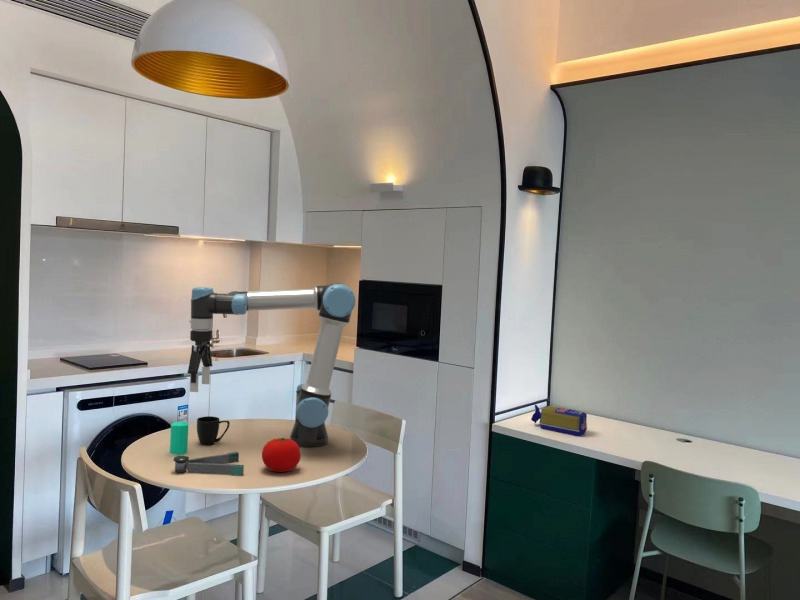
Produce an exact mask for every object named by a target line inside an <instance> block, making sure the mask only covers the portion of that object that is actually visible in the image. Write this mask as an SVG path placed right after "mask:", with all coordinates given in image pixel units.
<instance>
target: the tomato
mask: <svg viewBox="0 0 800 600" xmlns="http://www.w3.org/2000/svg"><path fill="white" fill-rule="evenodd" d="M301 455H302V453H301V448H300V446H298V444H297V443H296V442H295V441H293V440H291V439H290V438H285V437H278V438H272V439H271V440H269V441H267V443H266V444H265V445H264V446H263V447H262V451H261V459H262V463H263V464H264V466H265V467H266V468H267V469H269V470H270V471H273V472H277V473H284V472H288V471H292V470H294V468H295V469H296V467H297V466H298V464H299V463H300V461H301V457H302V456H301Z"/></svg>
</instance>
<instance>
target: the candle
mask: <svg viewBox="0 0 800 600" xmlns="http://www.w3.org/2000/svg"><path fill="white" fill-rule="evenodd" d="M169 438H170V439H169V441H170V443H169V454H170V455H175V456H182V455H185V454H187V453H188V446H189V445H188V442H189V422H188V421H174V422H173V423H171V424H170V437H169Z"/></svg>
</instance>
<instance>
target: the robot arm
mask: <svg viewBox="0 0 800 600" xmlns="http://www.w3.org/2000/svg"><path fill="white" fill-rule="evenodd" d="M355 295H356V294H354V291H353V290H352V289H351V288H350V287H349V286H347V285H346V284H343V283H339V282H336V283H330V284H325V285H316V286H314V287H313V288H299V289H296V288H295V289H274V290H272V289H271V290H270V289H269V290H249V291H237V290H236V291H235V290H234V291H230V292H228V293H218V292H214V288H213V287H207V286H196V287H193V288H192V289H191V299H190V320H189V323H190V329H191V330H190V333H189V334H190V336H189V337H190V338H189V339H190V341H192V342H195V343H194V344H192V345H191V353H190V356H189V357H190V358H189V365H188V369H187V374H189V376H190V377H189V393H198V392H199V375H200V374H199V373H198V372H199V368H200V364H201V362H202V366H201V385H210V384H211V383H210V382H211V379H210V378H211V377H210V376H211V368H212V367H213V360H212V353H211V352H212V351H211V341H212V340H213V331H212V329H213V322H214V321H213V317H214V314H215V315H235V316H240V315H246V313H247V312H248V311H270V310H272V311H273V310H274V311H275V310H297V309H315V311H319V312H318V317H319V319H320V326H319V330H318V334H317V339H316V343H315V347H314V350H313V355H312V358H311V363H310V367H309V370H308V375H307V380H306V382H305V383H304V384H303V383H302V384H298V385H297V386H296V391H295V393H296V396H295V397H296V398H295V415H294V416H295V417H294V419H295V420H294V425H293V428H292V429H291V432H290V435H289V439H291V440H293V441H295V442H296V443H297V444H298V446H299V447H303V448H304V447H305V448H315V447H322V446H325V445H327V444H328V442H329V435H328V431H327V427H326V423H325V422H326V420H327V419H328V416H329V406H330V402H331V397H332V391H331V390H330V385H331V380H332V376H333V372H334V369H335V363H336V361H337V360H336V359H337V357H338V351H339V348H340V344H341V339H342V337H343V332H344V327H345V326H347V325H349V324H350V319H351V317H352V312H353V310H354V308H355V306H356V296H355Z"/></svg>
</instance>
